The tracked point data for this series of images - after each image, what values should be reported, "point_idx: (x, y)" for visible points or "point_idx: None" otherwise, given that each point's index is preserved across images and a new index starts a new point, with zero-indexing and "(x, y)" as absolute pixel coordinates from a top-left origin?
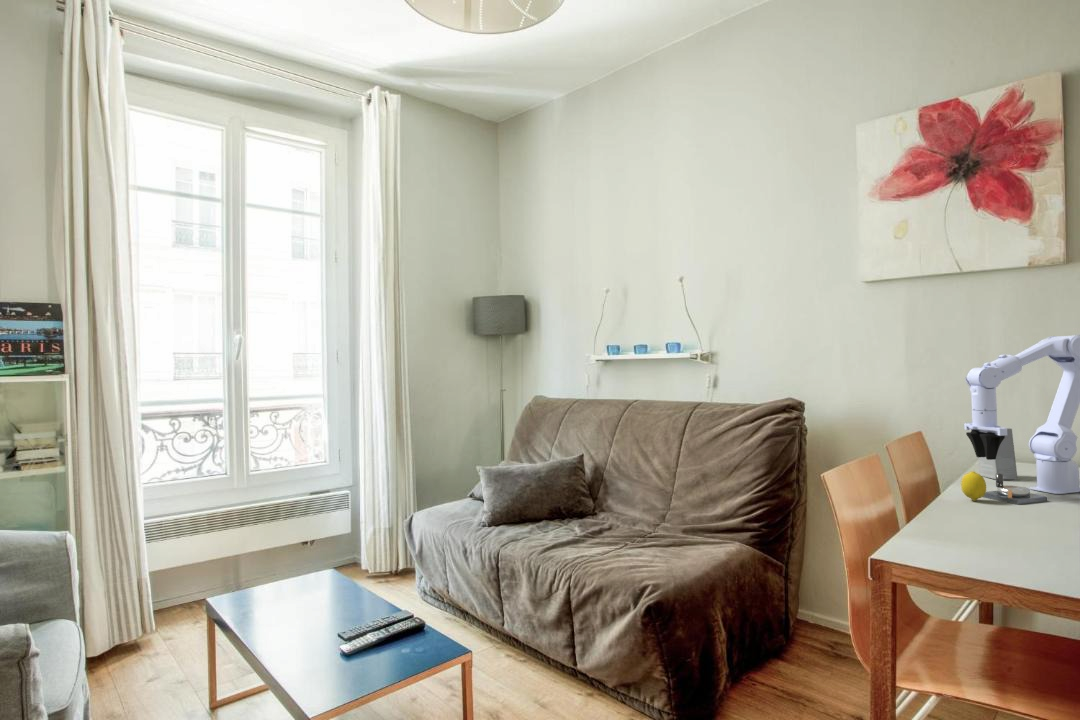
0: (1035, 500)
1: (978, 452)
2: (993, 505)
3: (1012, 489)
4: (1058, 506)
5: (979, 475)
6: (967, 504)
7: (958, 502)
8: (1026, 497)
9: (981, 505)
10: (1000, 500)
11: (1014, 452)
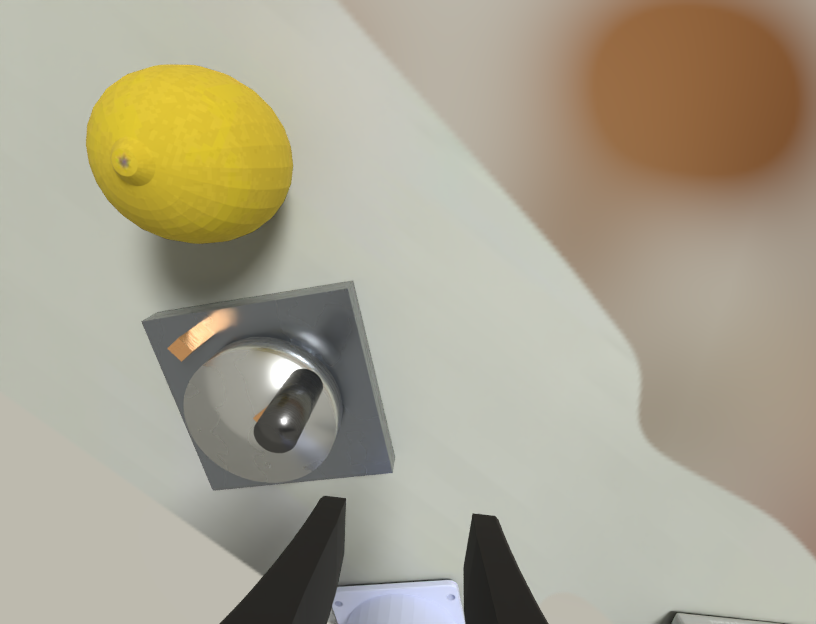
0: None
1: (475, 563)
2: None
3: (222, 391)
4: (126, 441)
5: (100, 185)
6: (165, 44)
7: (222, 24)
8: None
9: None
10: (244, 299)
11: None
